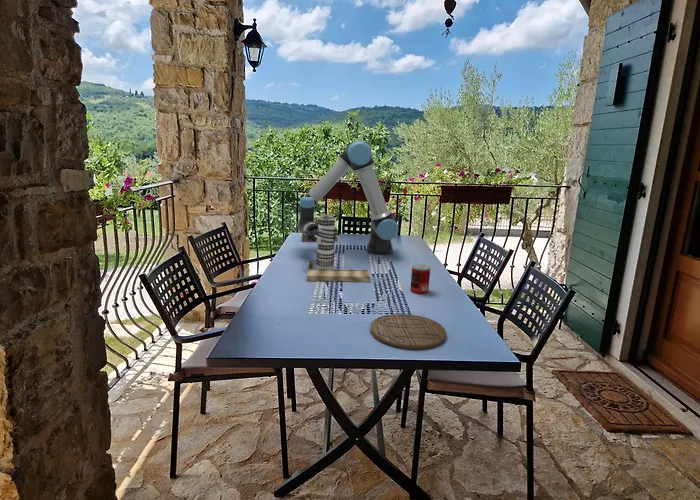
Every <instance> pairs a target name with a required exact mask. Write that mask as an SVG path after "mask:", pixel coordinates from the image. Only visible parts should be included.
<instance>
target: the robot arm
mask: <svg viewBox="0 0 700 500" xmlns="http://www.w3.org/2000/svg"><path fill="white" fill-rule="evenodd" d="M372 154H373V152H372V148H371V146H370V145H369V144H368V143H367V142H365V141H362V140H355V141H351V142H350V143H349V144H348V145H347V146H346V147H345V148H344V150H343V152H342V153H340V155H339V156H338V160H337V161H336V162H335V163H334V164H333V165H332V166H331V168H329V170H327V172H326V173H325V174H324V175H323V176H322V177H321V179H319V181H318V182H317V183H316V184H315V185H314V186H313V187H312V188H311V189H310V190H309V191H308V192H307V193H306V195H305V196H302V197H300V198H299V220H298V221H297V224H296V225H297V226H296V227H297V229H298V231H300V233H301V234H302V233H304V236H305V237H306V238H307V240H310V239H312V242H311V243H316V244H318V243H319V244H321V238H320V237H318V235H317V229H318V225H317V224H315V207H316V205H317V204H318V203H319V202H320V201H321V200H322V199H323V198H324V197H325V196H326V195H327V193H328V192H329V191H330V190H332V188H333V187H334V186H335V185H336V183H338V181H340V180H341V178H342V177H343V176H345V174H346V173H347V172H348V171H349V170H352V171H353V172H355V173H356V174H357V175H358V179H359V181H360V184H361V187H362V190H363V193H364V194H365V197H366V200H367V204H368V206H369V208H370V212H371V216H370V232H369V233H370V234H369V235H370V237H369V240H368V242H367V244H366V252H367V253H370V254H374V255H375V254H376V255H389V254H390V255H391V254H392V253H393V250H394V249H393V243H392V239H394V238H395V237H397V235H398V233H399V224H398V223H397V221H396V220H395V217H394V214H393V213H392V212H393V211H392V210H391V209H388V207H387V204H386V200H385V198H384V195H383V191H382V189H381V187H380V183H379V181H378V179H377V175H376V172H375V170H374V168H373V167H374V165H375V161H374V158H373V156H372ZM334 233H335V234H336V235H335V236H334V237H335V239H334V241H335V243H338V244H339V243H341V242H340V241H341V240H340V239H341V237H340V233H339V232H337V231H335V232H334ZM314 241H316V242H314Z"/></svg>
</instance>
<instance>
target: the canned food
mask: <svg viewBox="0 0 700 500" xmlns="http://www.w3.org/2000/svg"><path fill="white" fill-rule="evenodd" d="M430 277H431V266H430V265H428V264H422V263H417V264H413V265H411V275H410V278H411V279H410V287H409V288H410V291H411V293H413V294H417V295H424V294H427V293H428V292H429V289H430V287H429V286H430Z"/></svg>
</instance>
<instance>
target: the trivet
mask: <svg viewBox="0 0 700 500" xmlns="http://www.w3.org/2000/svg"><path fill="white" fill-rule="evenodd" d="M369 331H370V334H371V336H372V338H374V339H376V341H378V342H380V343H382V344H384V345H386V346H390V347H393V348H396V349H402V350H409V351H418V350H419V351H421V350H423V351H425V350H429V349H433V348H437V347H438V346H441V345H442V344H443V343H445V342H446V341H445V340H446V337H447V331H446V328H445V327H444V326H443V325H442V324H441V323H439V322H437V321H435V320H433V319H432V318H429V317H425V316H423V315H422V316H421V315H418V314H416V315H415V314H410V313H393V314H392V313H391V314H386V315H382V316H378V317H376V318H375V319H372V322H371V323H370V330H369Z"/></svg>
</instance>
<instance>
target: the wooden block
mask: <svg viewBox="0 0 700 500" xmlns="http://www.w3.org/2000/svg"><path fill="white" fill-rule="evenodd" d="M314 223H315V224H317V225H318V224H319V219H318V218H317V220H316V221H314ZM301 242H305V243H306V242H308V243H309V242H311V243H317V242H316V241H314V242H312V239H310V240H307V238H306V237H305V236H304V233H301Z"/></svg>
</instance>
